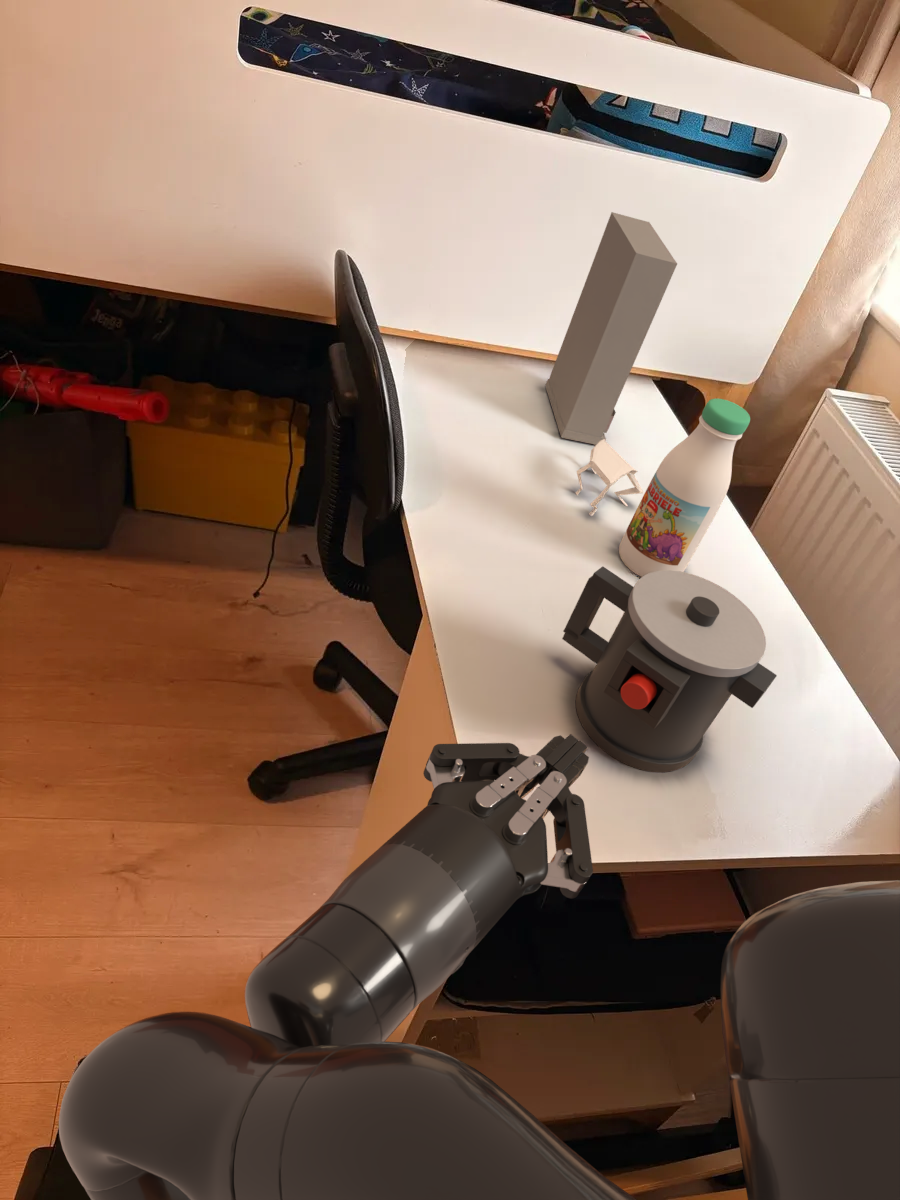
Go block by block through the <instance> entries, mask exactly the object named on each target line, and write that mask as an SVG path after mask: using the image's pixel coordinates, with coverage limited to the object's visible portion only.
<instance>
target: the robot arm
mask: <svg viewBox="0 0 900 1200" xmlns="http://www.w3.org/2000/svg"><path fill="white" fill-rule="evenodd" d="M587 750H588V745H586V744H585V743H583V742H582V741H581V740H579V739H578V738H577V737H576V736H574V735H573V734H572V733H570V734H569V735H568V736H566V737H565V738H564V737H563V735H556V736H554V737H553V738H551V740H550V741H548V742H547V743H546V744H545V745H544V746H543V747H542V748H541V749H540V750H539V751H538V752H537V753H536V754H532V755H530V756H529V755H525V754H522V753H521V752H520V749H519V748H518V746H517V745H516V744H514V743H511V742H485V743H483V742H482V743H480V742H478V743H477V742H476V743H473V742H472V743H437V744H435V745H434V746H433V748H432V750H431V752H430V754H429V756H428V759H427V761H426V763H425V767H424V769H423V777H424V779H426V780H427V781H428V782H431V783H432V788H433V789H432V792H431V796H430V797H429V799H428V801H427V805H426V806H425V807H424V808H422V809H421V810H420V811H419V812H418V813H417V814H416V815H415V816H413V817H412V818H411V819H410V820H409V821H407V823H406V824H405V825H403V826H402V827H401V828H400V829H399V830H397V832H395V833H394V834H392V836H391V837H390V838H389V839H388V840H386V841H385V842H384V843H383V844H382V845H381V846H380V847H379V848H377V850H375V851H374V852H373V853H372V854H371V855H370V856H368V857H367V858H366V859H365V860H364V861H362V863H361V864H359V866H357V867H356V868H355V869H353V871H351V873H350V874H349V875H347V877H346V878H344V880H342V882H341V883H340V884H339V885H338V886H337V888H336V889H335V890H333V892H332V894H331V895H330V896H329V897H328V898H327V900H325V902H323V904H322V905H320V907H319V908H318V909H317V910H316V911H314V912H313V913H312V914H311V915H310V916H309V917H307V918H306V919H305V920H304V921H303V922H302V923H301V924H300V925H299V926H298V927H296V928H295V929H294V930H293V931H291V933H289V934H288V935H287V937H285V938H284V939H283V940H281V941H280V942H279V943H278V944H277V945H276V946H274V948H273V949H271V950H270V951H269V952H268V953H267V954H266V955H265V956H264V957H263V958H262V959H261V960H260V961H259V962H258V963H257V964H256V966H254V968H253V969H252V970H251V972H250V974H249V976H248V978H247V981H246V983H245V987H244V1003H245V1010H246V1014H247V1015H246V1016H247V1019H248V1022H249V1025H250V1026H249V1025H246V1024H243V1023H241V1022H238V1021H235V1020H233V1019H229V1018H227V1017H223V1016H219V1015H216V1014H212V1013H207V1012H201V1011H189V1010H188V1011H185V1010H184V1011H181V1010H180V1011H170V1012H164V1013H159V1014H156V1015H151V1016H148V1017H147V1016H146V1017H144V1018H141V1019H138V1020H137V1021H134V1022H131V1023H130V1024H127V1025H125V1026H124V1027H122V1028H120V1029H118V1030H117V1031H115V1032H113V1033H112V1034H110V1035H109V1036H108V1037H106V1038H105V1039H104V1040H102V1041H101V1042H100V1043H98V1044H97V1045H96V1046H95V1048H93V1049H92V1050H91V1051H90V1052H89V1053H88V1054H87V1055H86V1057H85V1058H84V1059H83V1060H82V1061H81V1063H80V1064H79V1066H78V1067H77V1068H76V1070H75V1072H74V1073H73V1075H72V1076H71V1078H70V1080H69V1082H68V1084H67V1086H66V1089H65V1092H64V1094H63V1096H62V1099H61V1100H62V1101H61V1104H60V1110H59V1113H58V1114H59V1115H58V1134H59V1135H58V1136H59V1141H60V1144H61V1149H62V1151H63V1153H64V1155H65V1158H66V1160H67V1162H68V1164H69V1166H70V1167H71V1170H72V1172H73V1173H74V1174H75V1176H76V1177H77V1179H78V1181H79V1183H80V1184H81V1186H82V1187H83V1189H84V1190H85V1192H86V1194H87V1196H88V1197H89V1198H90V1200H638V1199H637V1198H636V1197H634V1196H633V1195H632V1194H630V1193H629V1192H628V1191H626V1190H625V1189H623V1188H622V1187H620V1186H619V1185H617V1184H616V1183H615V1182H613V1181H612V1180H610V1179H609V1178H608V1177H607V1176H605V1175H603V1174H602V1173H601V1172H599V1171H598V1170H597V1169H596V1168H595V1167H594V1166H593V1165H592V1164H590V1163H589V1162H588V1161H587V1160H586V1159H584V1158H583V1157H582V1156H581V1155H579V1154H578V1153H577V1152H576V1151H575V1150H574V1149H572V1148H571V1147H570V1146H569V1145H567V1144H566V1143H565V1142H564V1141H563V1140H562V1139H561V1138H559V1137H558V1136H557V1135H556V1134H555V1133H554V1132H553V1131H552V1130H551V1129H550V1128H549V1127H548V1126H546V1125H545V1124H544V1123H543V1122H542V1121H541V1120H540V1119H538V1117H537V1116H535V1115H534V1114H533V1113H532V1112H531V1111H529V1110H528V1109H527V1108H525V1106H523V1105H522V1104H521V1103H520V1102H519V1101H517V1100H516V1099H515V1098H514V1097H513V1096H511V1095H510V1094H509V1093H508V1092H506V1090H504V1089H503V1088H502V1087H500V1086H499V1085H498V1084H497V1083H496V1082H495V1081H493V1080H492V1079H491V1078H489V1077H488V1076H486V1075H485V1074H483V1073H482V1072H481V1071H479V1070H478V1069H477V1068H475V1067H473V1066H471V1065H469V1064H468V1063H466V1062H464V1061H462V1060H461V1059H458V1058H457V1057H454V1056H452V1055H450V1054H447V1053H445V1052H443V1051H440V1050H439V1049H438V1050H437V1049H435V1048H432V1047H429V1046H424V1045H420V1044H415V1043H409V1042H403V1041H402V1042H401V1041H387V1040H388V1039H389V1037H391V1035H392V1034H393V1033H394V1032H395V1031H396V1030H397V1029H398V1028H399V1026H400V1025H401V1024H402V1023H403V1022H404V1021H405V1020H406V1018H407V1017H409V1015H410V1014H411V1012H413V1011H414V1010H415V1009H416V1008H417V1007H418V1006H419V1004H421V1003H422V1002H423V1001H424V1000H425V999H427V998H428V997H430V995H432V994H433V993H434V992H435V991H436V990H438V989H439V988H440V987H441V986H442V985H443V984H444V983H445V982H446V981H447V979H449V977H450V976H451V975H453V974H455V973H456V972H457V971H459V969H461V967H462V966H463V964H464V962H465V961H466V958H467V957H468V956H469V955H470V953H472V951H473V950H474V949H475V948H477V946H478V945H479V943H480V942H481V941H482V940H483V939H484V938H485V937H486V935H488V933H489V932H490V931H491V930H492V929H493V928H494V926H495V925H496V924H497V923H498V922H499V921H500V920H501V918H502V917H503V916H504V915H505V914H506V913H507V912H508V910H509V909H510V908H511V907H512V906H513V905H514V903H515V902H517V900H518V899H520V898H522V897H523V896H527V895H531V894H534V893H535V892H537V891H538V890H540V888H541V886H542V885H543V886H549V887H556V888H559V891H560V892H561V894H562V895H563V896H564V897H565V898H567V899H575V898H577V897H578V896H579V894H580V893H581V891H582V889H583V888H584V887H585V885H586V884H587V882H588V881H589V880H590V878H591V877H592V875H593V873H594V868H593V860H592V854H591V853H592V851H591V845H590V837H589V830H588V829H589V828H588V821H587V815H586V814H587V813H586V806H585V801H584V800H583V798H582V797H581V796H579V795H578V794H575V793H572V791H571V790H570V787H571V786H572V785H573V784H574V783H575V782H576V781H577V780H578V779H579V778H580V777H581V775H582V774H583V772H584V770H585V768H586V767H587V765H588V763H589V759H590V757H589V755H588V754H586V752H587ZM538 785H539V786H538ZM535 788H536V789H535ZM534 789H535V790H534ZM530 793H532V794H530ZM529 794H530V795H529ZM528 795H529V797H528V798H527V799H525V797H526V796H528ZM548 813H550V814H551V815H552V816H553V833H554V842H555V843H554V844H555V853H554V855H553V857H552V858H551V860H550V862H549V857H548V838H547V836H548V835H547V825H546V822H545V820H544V819H545V818H546V816H547V815H548ZM723 952H724V953H723V956H722V962H721V969H720V986H719V987H720V988H719V989H720V1016H721V1017H720V1019H721V1033H722V1040H723V1049H724V1056H725V1063H726V1067H727V1072H728V1076H729V1077H730V1080H729V1088H730V1095H731V1100H732V1101H731V1102H732V1107H733V1108H732V1109H733V1114H734V1120H735V1125H736V1132H737V1138H738V1139H737V1140H738V1146H739V1152H740V1153H739V1154H740V1158H741V1165H742V1171H743V1179H744V1184H745V1191H746V1197H747V1200H900V880H898V879H897V880H877V881H876V880H874V881H873V880H872V881H858V882H852V883H851V882H849V883H845V884H843V883H842V884H838V885H837V884H836V885H830V886H824V887H818V888H814V889H810V890H807V891H802V892H799V893H796V894H793V895H790V896H787V897H784V898H782V899H780V900H778V901H777V902H773V904H770V905H768V906H766V907H765V908H763V909H760V910H758V911H757V912H755V913H753V914H752V915H751V916H749V917H748V918H747V919H746V920H745V921H744V922H743V923H742V924H741V925H740V926H739V927H738V929H737V930H736V931H735V933H734V934H733V935H732V936H731V938H730V939H729V940H728V942H727V944H726V947H725V949H724V951H723Z"/></svg>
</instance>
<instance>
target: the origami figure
mask: <svg viewBox="0 0 900 1200" xmlns="http://www.w3.org/2000/svg"><path fill="white" fill-rule="evenodd" d="M588 469H591V470H592V472H593V473H594V474H595V475H597V476H599V478H600V479H601V480H602V482H603V483H604V485H606V486H605V487H604V489H603V490H602V491H601V492H600V494H599V495H598V496H596V498H595V499H594V500H592V502H590V506H591V507H592V510H591V511H589V513H588V515H589V516H590V517H593V516H594V515H595V513H596V512H597V511H598V506H597V505H598V504H599V503H600V502H601V501H602V500H603V499H604V497H605V496H606V494H607V493H608V492H609V490H610V488H611V487H612V486H614V485H615V484H616V482H618V481H619V480H620V479H621V478H623V477H625V476H627V478H628V479H629V481H630V482H631V485H633V487H630V488H626V489H622V490H618V491H614V494H615V496H616V497H617V498H618V500H620V502H621V503H623V505H624V506H625V507H629V505H628V504H627V502H626V501H625V500H624V499H623V497H621V496H627V495H637V494H644V491H643V488H642V487H641V486H640V483H639V481H638V479H637V477H636V476H635V474H637V472H638V470H637V469H636V468H634V467H633V466H631V464H630V463H628V462H627V461H626V459H624V458H623V457H622V455H620V454H619V452H617V451H616V450H615V449H614V448H613V447H612V446H611V445H610V444H609V443H608V442H607V441H606V440H605V439H603V440H601V441H599V442H598V443H597V444H596V445H594V446H593V447H592V449H591V450H590V456H589V461H588V463H587V464H586V465H584V466H582V467H581V468H579V469H578V470H576V474H577V480H578V484H579V488H578V489H577V490H576V491H575V495H576V496H579V493H581V492H582V490H583V489H584V488H583V482H582V473H584V472H585V471H586V470H588Z"/></svg>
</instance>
